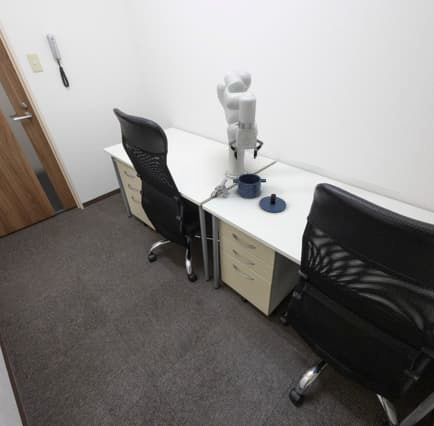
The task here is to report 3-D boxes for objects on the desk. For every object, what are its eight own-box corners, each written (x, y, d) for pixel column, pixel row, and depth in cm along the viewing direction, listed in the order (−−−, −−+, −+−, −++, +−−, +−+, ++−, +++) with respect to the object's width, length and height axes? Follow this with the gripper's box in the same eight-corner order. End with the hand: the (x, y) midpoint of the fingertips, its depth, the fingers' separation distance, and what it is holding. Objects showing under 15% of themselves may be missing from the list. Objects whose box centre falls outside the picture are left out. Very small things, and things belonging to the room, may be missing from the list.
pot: (232, 186, 138) (232, 173, 133) (263, 186, 137) (264, 173, 132) (233, 198, 128) (233, 185, 122) (266, 198, 127) (267, 184, 122)
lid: (257, 198, 127) (258, 188, 124) (282, 197, 127) (284, 187, 124) (261, 213, 117) (261, 203, 113) (288, 212, 116) (290, 202, 113)
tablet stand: (216, 189, 136) (216, 176, 131) (229, 191, 134) (229, 178, 129) (211, 196, 130) (210, 183, 125) (224, 199, 127) (224, 185, 122)
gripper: (228, 127, 109) (229, 161, 120) (266, 127, 109) (263, 161, 120) (228, 122, 115) (228, 155, 126) (263, 121, 115) (261, 154, 126)
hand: (245, 158), depth 123 cm, fingers open, 9 cm apart
